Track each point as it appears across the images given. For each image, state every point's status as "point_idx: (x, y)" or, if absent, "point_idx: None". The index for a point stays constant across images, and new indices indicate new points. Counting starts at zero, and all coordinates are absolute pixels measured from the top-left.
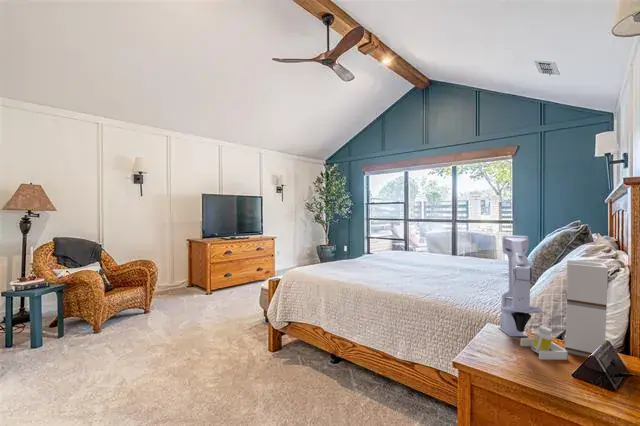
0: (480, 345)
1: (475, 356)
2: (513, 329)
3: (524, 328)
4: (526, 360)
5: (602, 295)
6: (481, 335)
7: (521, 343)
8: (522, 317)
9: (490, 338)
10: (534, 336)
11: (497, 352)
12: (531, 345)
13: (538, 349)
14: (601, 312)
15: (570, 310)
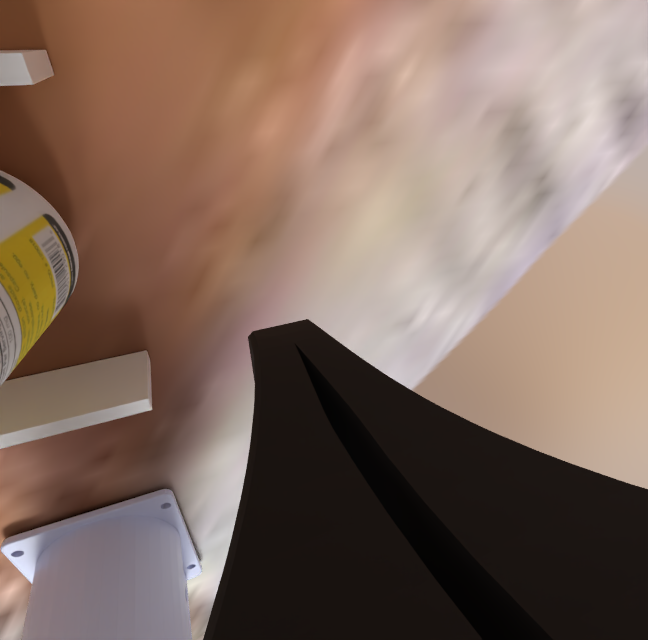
0: (467, 290)
1: (626, 94)
2: (135, 556)
3: (261, 366)
4: (242, 17)
5: None
6: None
7: (146, 366)
8: (633, 593)
9: None
10: (5, 375)
11: (425, 189)
12: (33, 380)
13: (8, 194)
14: None
15: None
